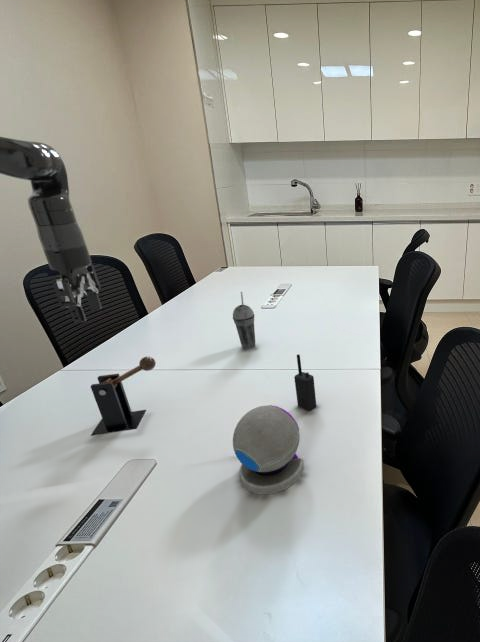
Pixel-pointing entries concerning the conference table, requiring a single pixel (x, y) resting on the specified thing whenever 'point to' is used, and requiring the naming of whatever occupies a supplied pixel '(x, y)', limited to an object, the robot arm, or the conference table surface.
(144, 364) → the lever
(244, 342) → the beverage cup
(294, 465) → the webcam
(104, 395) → the bracket
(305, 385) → the walkie-talkie
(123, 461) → the conference table surface
